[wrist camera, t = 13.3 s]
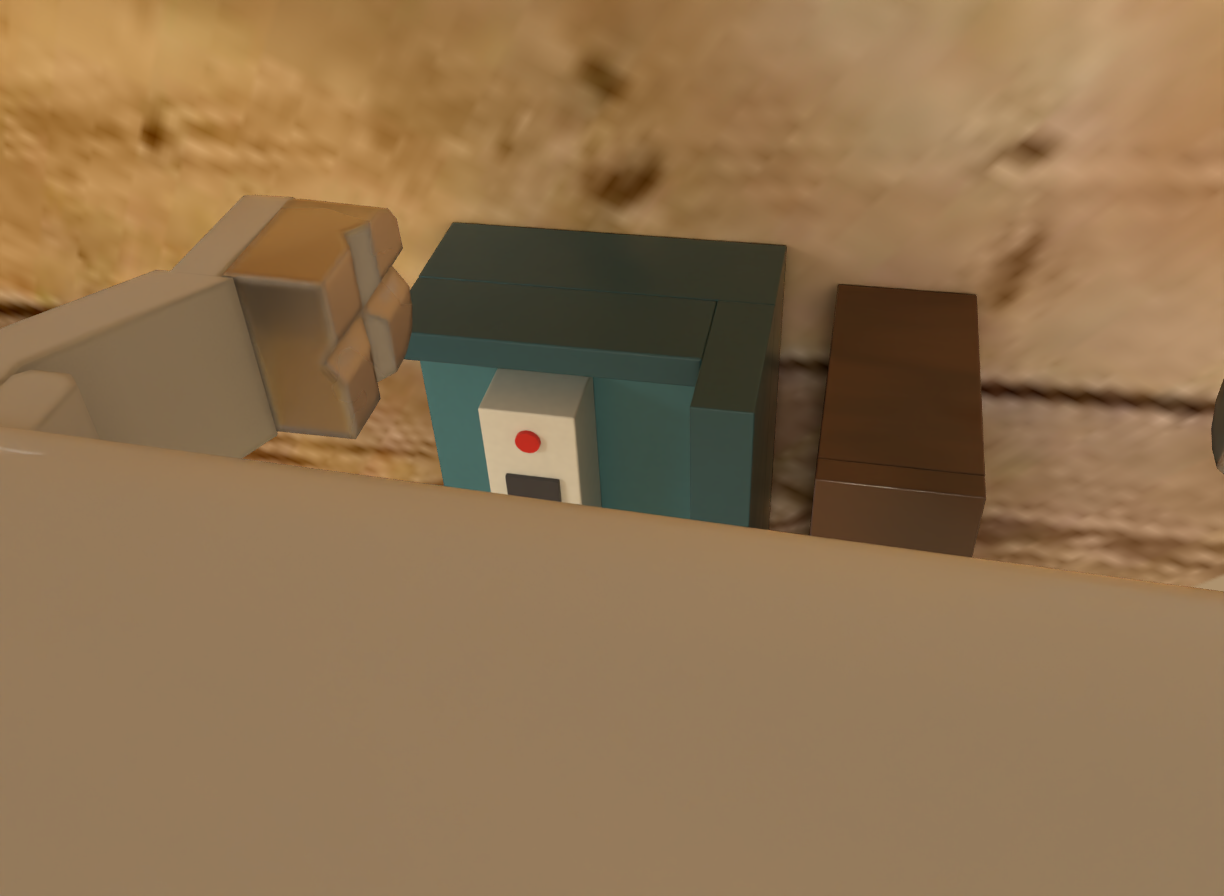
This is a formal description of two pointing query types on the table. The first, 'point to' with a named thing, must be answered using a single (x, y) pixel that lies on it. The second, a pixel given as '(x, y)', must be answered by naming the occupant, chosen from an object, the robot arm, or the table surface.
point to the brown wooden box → (902, 423)
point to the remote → (541, 436)
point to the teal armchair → (614, 356)
